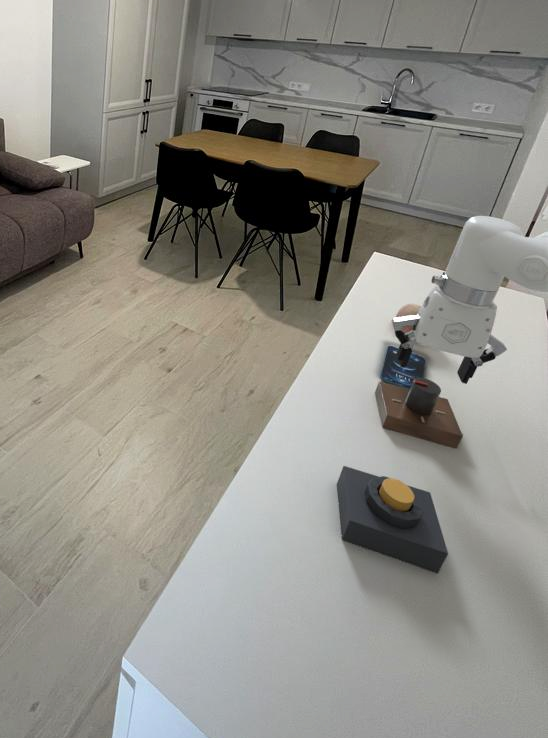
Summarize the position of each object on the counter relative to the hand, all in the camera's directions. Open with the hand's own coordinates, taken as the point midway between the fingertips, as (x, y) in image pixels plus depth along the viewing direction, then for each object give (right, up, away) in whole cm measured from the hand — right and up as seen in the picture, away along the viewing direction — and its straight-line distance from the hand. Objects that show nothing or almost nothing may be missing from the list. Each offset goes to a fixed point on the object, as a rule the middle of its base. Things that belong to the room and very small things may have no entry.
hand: (430, 370), depth 90 cm
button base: (-18, -18, -17) cm, 31 cm away
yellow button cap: (-18, -13, -19) cm, 29 cm away
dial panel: (-1, -10, +4) cm, 11 cm away
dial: (0, -8, +3) cm, 8 cm away
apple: (+15, 0, +31) cm, 34 cm away
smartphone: (+6, -5, +18) cm, 19 cm away
